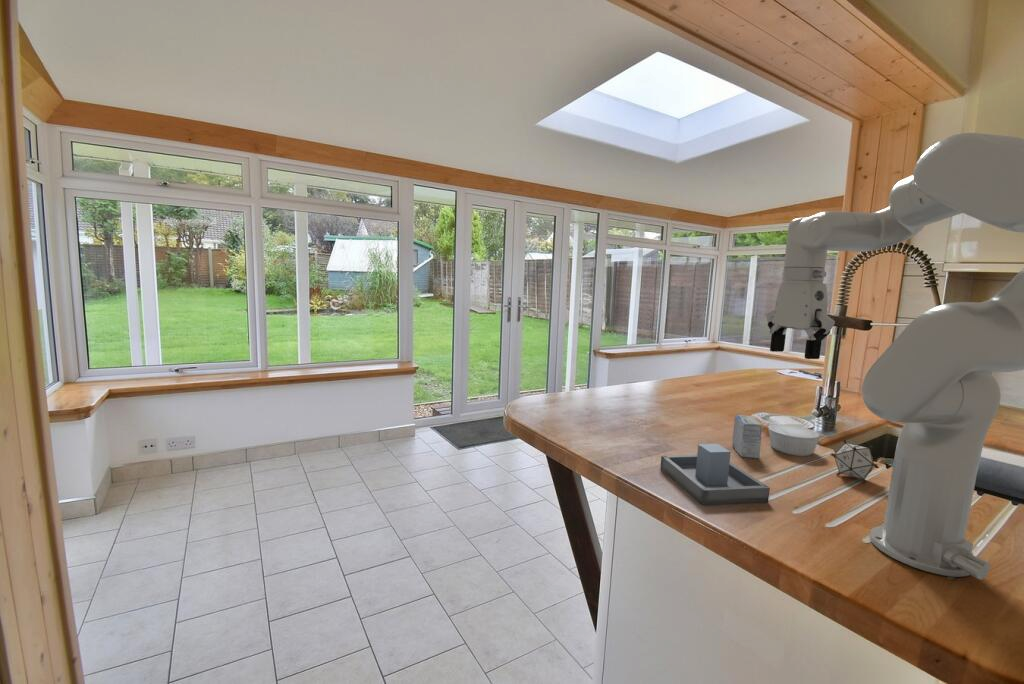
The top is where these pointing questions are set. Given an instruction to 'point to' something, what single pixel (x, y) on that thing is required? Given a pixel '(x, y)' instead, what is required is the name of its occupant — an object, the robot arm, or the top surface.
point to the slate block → (712, 464)
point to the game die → (854, 460)
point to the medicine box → (747, 436)
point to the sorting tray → (734, 492)
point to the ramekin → (793, 439)
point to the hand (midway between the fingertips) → (793, 354)
